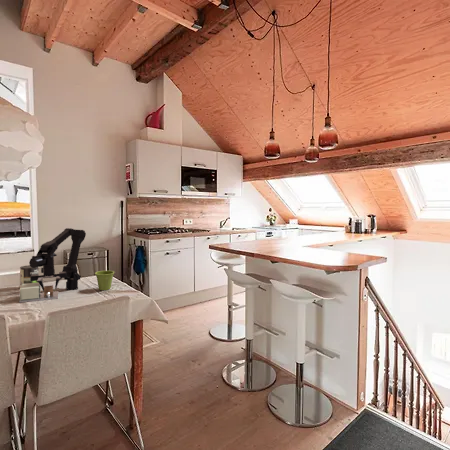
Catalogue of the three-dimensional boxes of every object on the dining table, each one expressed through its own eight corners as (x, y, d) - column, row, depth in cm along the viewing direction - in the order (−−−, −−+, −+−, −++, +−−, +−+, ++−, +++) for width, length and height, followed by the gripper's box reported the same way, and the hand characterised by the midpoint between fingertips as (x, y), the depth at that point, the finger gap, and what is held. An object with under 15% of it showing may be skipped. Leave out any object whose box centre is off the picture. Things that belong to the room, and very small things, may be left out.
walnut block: (53, 293, 186) (53, 285, 186) (52, 295, 182) (52, 287, 182) (44, 294, 184) (44, 286, 183) (44, 296, 180) (43, 288, 179)
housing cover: (40, 292, 186) (40, 282, 186) (38, 297, 175) (38, 287, 175) (22, 293, 182) (22, 283, 182) (19, 299, 171) (19, 289, 170)
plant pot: (98, 293, 192) (98, 275, 191) (92, 288, 201) (92, 272, 200) (117, 289, 200) (117, 272, 199) (110, 286, 209) (110, 269, 208)
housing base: (58, 292, 191) (58, 287, 191) (57, 298, 179) (57, 292, 179) (22, 296, 182) (22, 290, 182) (19, 302, 171) (19, 296, 170)
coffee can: (42, 286, 205) (42, 265, 204) (30, 290, 195) (29, 268, 194) (29, 285, 207) (29, 264, 206) (16, 289, 197) (16, 267, 196)
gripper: (66, 261, 193) (67, 285, 194) (31, 263, 185) (32, 289, 186) (66, 264, 183) (67, 289, 185) (29, 267, 175) (30, 293, 176)
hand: (49, 290), depth 183 cm, fingers open, 6 cm apart
